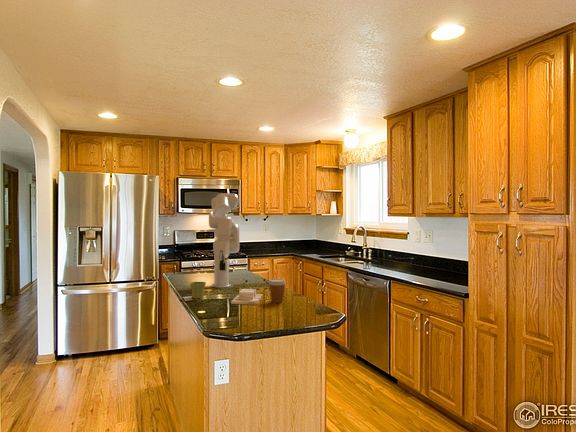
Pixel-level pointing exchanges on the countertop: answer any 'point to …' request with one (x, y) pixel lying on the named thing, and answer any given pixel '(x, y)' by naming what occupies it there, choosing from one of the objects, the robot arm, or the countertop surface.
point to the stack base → (248, 301)
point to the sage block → (225, 265)
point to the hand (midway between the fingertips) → (223, 269)
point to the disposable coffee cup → (277, 290)
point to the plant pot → (197, 289)
